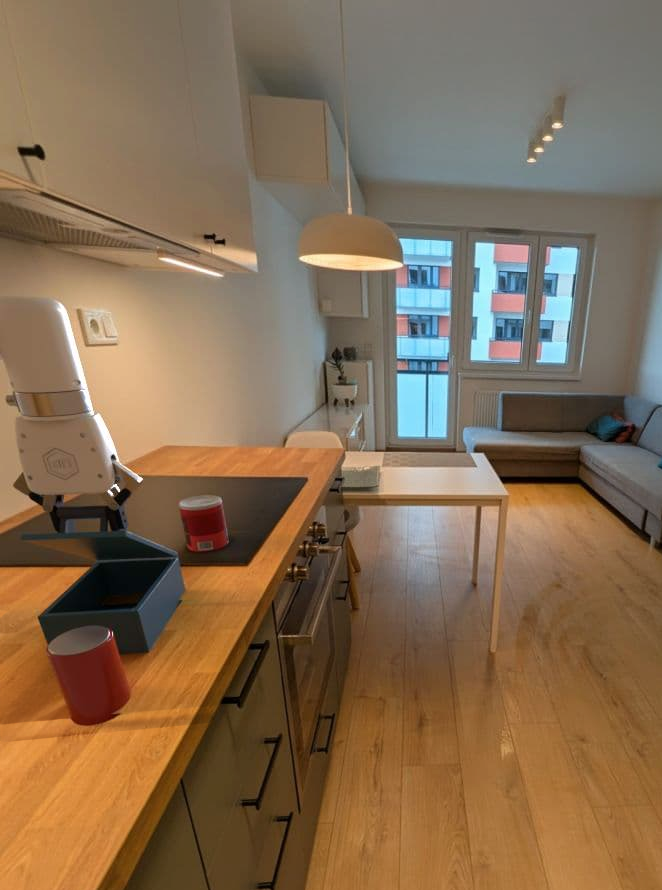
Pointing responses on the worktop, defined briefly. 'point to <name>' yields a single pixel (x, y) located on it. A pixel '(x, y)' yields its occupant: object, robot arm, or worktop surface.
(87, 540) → the lid
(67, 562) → the worktop surface
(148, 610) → the open box
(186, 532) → the canned food
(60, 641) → the can
